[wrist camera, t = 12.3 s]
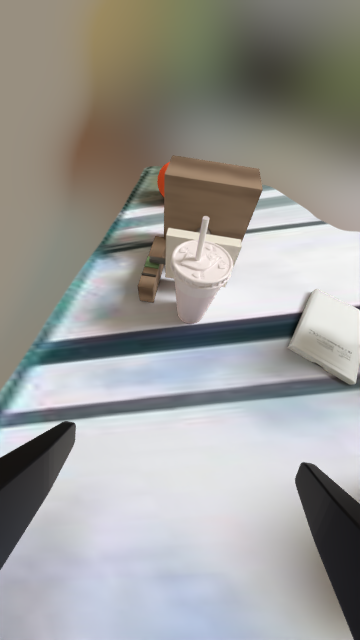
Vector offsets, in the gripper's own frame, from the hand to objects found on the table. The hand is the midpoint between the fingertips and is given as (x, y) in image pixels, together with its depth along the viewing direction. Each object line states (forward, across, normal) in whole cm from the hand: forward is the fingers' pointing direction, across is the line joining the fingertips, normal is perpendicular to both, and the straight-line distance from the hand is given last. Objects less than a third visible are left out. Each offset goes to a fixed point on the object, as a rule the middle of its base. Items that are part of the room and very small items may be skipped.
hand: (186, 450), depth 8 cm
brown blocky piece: (+27, +1, -8) cm, 28 cm away
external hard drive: (+22, -20, -2) cm, 30 cm away
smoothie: (+21, 0, -2) cm, 21 cm away
